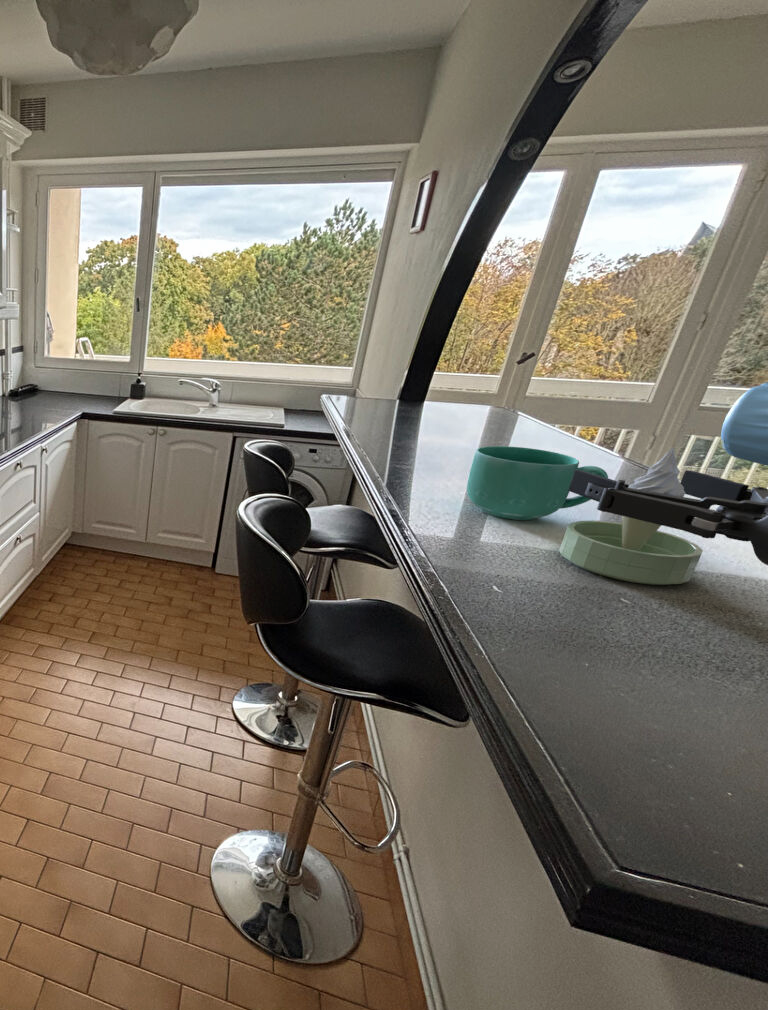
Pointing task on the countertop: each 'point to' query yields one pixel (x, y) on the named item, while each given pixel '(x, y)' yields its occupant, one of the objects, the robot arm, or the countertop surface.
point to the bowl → (629, 554)
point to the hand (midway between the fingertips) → (628, 480)
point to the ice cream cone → (656, 480)
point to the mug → (523, 481)
